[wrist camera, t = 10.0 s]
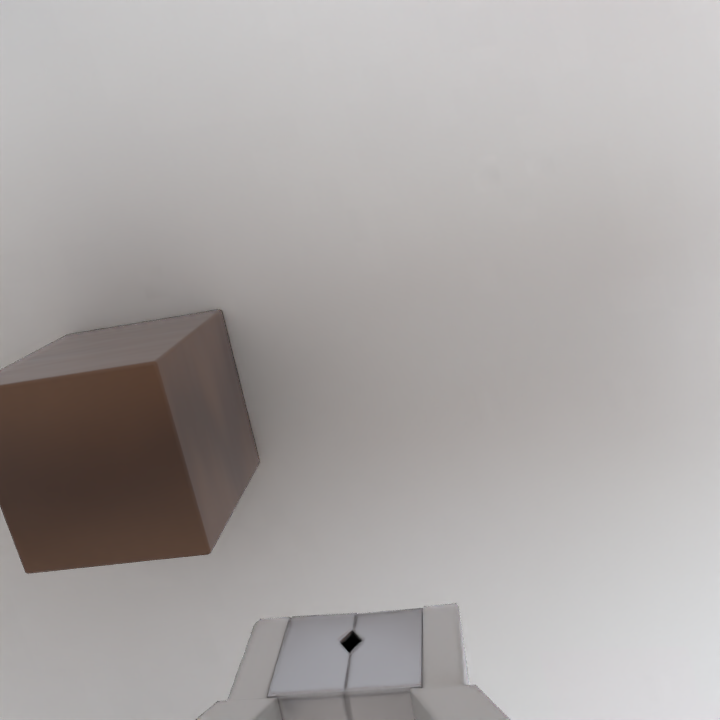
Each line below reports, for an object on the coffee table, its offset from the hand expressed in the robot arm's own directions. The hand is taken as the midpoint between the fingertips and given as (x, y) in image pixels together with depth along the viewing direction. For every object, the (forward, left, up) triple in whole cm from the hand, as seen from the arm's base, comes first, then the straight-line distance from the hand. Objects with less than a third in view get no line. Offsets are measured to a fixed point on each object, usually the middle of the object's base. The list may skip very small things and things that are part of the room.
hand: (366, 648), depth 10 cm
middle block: (-6, +4, -11) cm, 13 cm away
